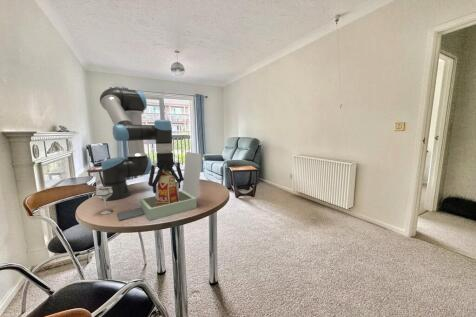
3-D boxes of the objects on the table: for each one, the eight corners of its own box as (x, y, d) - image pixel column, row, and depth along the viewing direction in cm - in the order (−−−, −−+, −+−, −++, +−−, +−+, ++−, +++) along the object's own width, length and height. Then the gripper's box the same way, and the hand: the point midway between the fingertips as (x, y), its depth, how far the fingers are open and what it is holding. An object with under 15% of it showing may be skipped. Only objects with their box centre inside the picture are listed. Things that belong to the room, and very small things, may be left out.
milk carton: (171, 212, 94) (169, 170, 91) (154, 210, 96) (151, 170, 93) (180, 205, 103) (178, 167, 100) (164, 204, 105) (162, 166, 102)
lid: (186, 151, 112) (188, 152, 113) (182, 190, 112) (184, 190, 113) (201, 154, 98) (203, 154, 99) (196, 198, 98) (198, 197, 99)
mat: (116, 214, 93) (116, 212, 93) (139, 208, 99) (139, 207, 99) (119, 221, 85) (119, 219, 85) (144, 215, 91) (144, 213, 91)
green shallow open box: (140, 208, 100) (139, 199, 99) (182, 199, 113) (182, 190, 112) (150, 220, 86) (149, 209, 85) (196, 208, 99) (196, 198, 98)
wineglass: (118, 209, 99) (115, 186, 97) (106, 215, 92) (104, 190, 90) (106, 209, 100) (103, 186, 98) (94, 214, 93) (91, 189, 92)
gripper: (141, 154, 86) (145, 204, 89) (189, 151, 99) (191, 194, 102) (138, 153, 92) (142, 199, 95) (183, 150, 105) (185, 191, 108)
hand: (167, 196), depth 99 cm, fingers closed on milk carton, 9 cm apart
